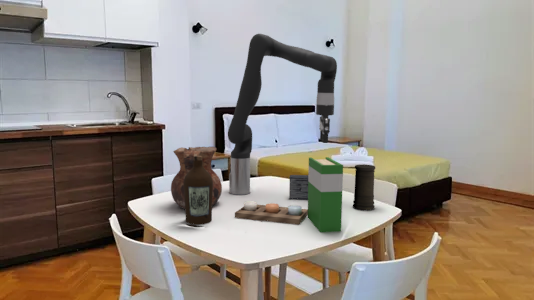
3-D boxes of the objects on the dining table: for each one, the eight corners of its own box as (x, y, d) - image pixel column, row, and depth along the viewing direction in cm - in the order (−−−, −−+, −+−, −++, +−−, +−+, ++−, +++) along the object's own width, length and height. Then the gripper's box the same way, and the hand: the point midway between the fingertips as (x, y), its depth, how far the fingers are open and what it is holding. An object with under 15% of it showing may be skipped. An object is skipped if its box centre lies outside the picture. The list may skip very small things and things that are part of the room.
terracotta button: (263, 212, 159) (263, 206, 159) (268, 209, 164) (268, 202, 163) (276, 213, 157) (276, 207, 157) (280, 210, 162) (280, 204, 162)
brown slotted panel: (234, 220, 158) (234, 212, 158) (248, 210, 172) (248, 203, 171) (299, 227, 150) (299, 219, 150) (308, 216, 164) (308, 209, 163)
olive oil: (183, 219, 158) (182, 154, 155) (211, 218, 161) (211, 153, 157) (184, 228, 148) (183, 158, 145) (214, 226, 151) (214, 157, 147)
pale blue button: (286, 214, 156) (286, 208, 156) (290, 211, 161) (290, 205, 161) (299, 216, 155) (299, 209, 154) (302, 212, 159) (303, 206, 159)
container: (376, 206, 179) (378, 165, 177) (372, 211, 171) (373, 168, 169) (355, 204, 183) (356, 163, 181) (350, 209, 175) (351, 166, 173)
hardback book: (307, 219, 160) (308, 157, 157) (326, 219, 161) (328, 157, 158) (319, 235, 142) (321, 165, 139) (340, 234, 143) (343, 165, 140)
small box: (312, 196, 196) (312, 174, 194) (312, 200, 189) (312, 177, 188) (289, 196, 197) (290, 174, 195) (289, 199, 190) (289, 176, 189)
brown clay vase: (165, 202, 183) (164, 146, 180) (211, 197, 192) (210, 143, 189) (179, 216, 163) (178, 152, 160) (229, 209, 173) (229, 149, 170)
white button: (241, 210, 162) (241, 203, 162) (246, 207, 167) (246, 200, 166) (253, 211, 160) (253, 205, 160) (258, 208, 165) (258, 202, 165)
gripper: (314, 103, 186) (313, 139, 188) (318, 104, 171) (317, 143, 174) (331, 103, 185) (330, 139, 188) (336, 104, 171) (335, 143, 174)
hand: (323, 141), depth 181 cm, fingers open, 8 cm apart
